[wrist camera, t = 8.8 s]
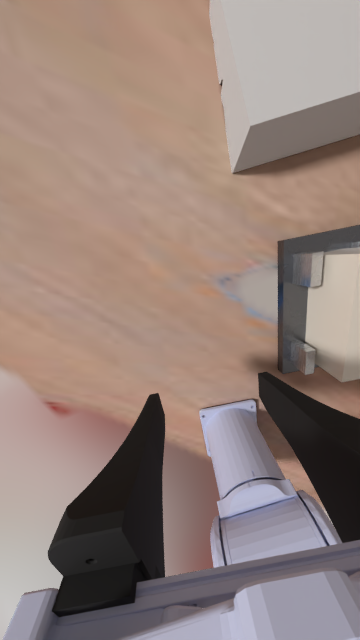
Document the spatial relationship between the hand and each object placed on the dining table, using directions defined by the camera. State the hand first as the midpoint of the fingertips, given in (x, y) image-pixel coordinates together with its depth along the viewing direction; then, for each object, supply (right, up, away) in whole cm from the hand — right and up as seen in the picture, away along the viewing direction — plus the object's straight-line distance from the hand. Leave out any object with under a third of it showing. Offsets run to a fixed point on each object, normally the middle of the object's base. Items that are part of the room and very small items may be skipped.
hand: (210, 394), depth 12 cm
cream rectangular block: (+14, +7, +7) cm, 17 cm away
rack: (+14, +7, +8) cm, 18 cm away
